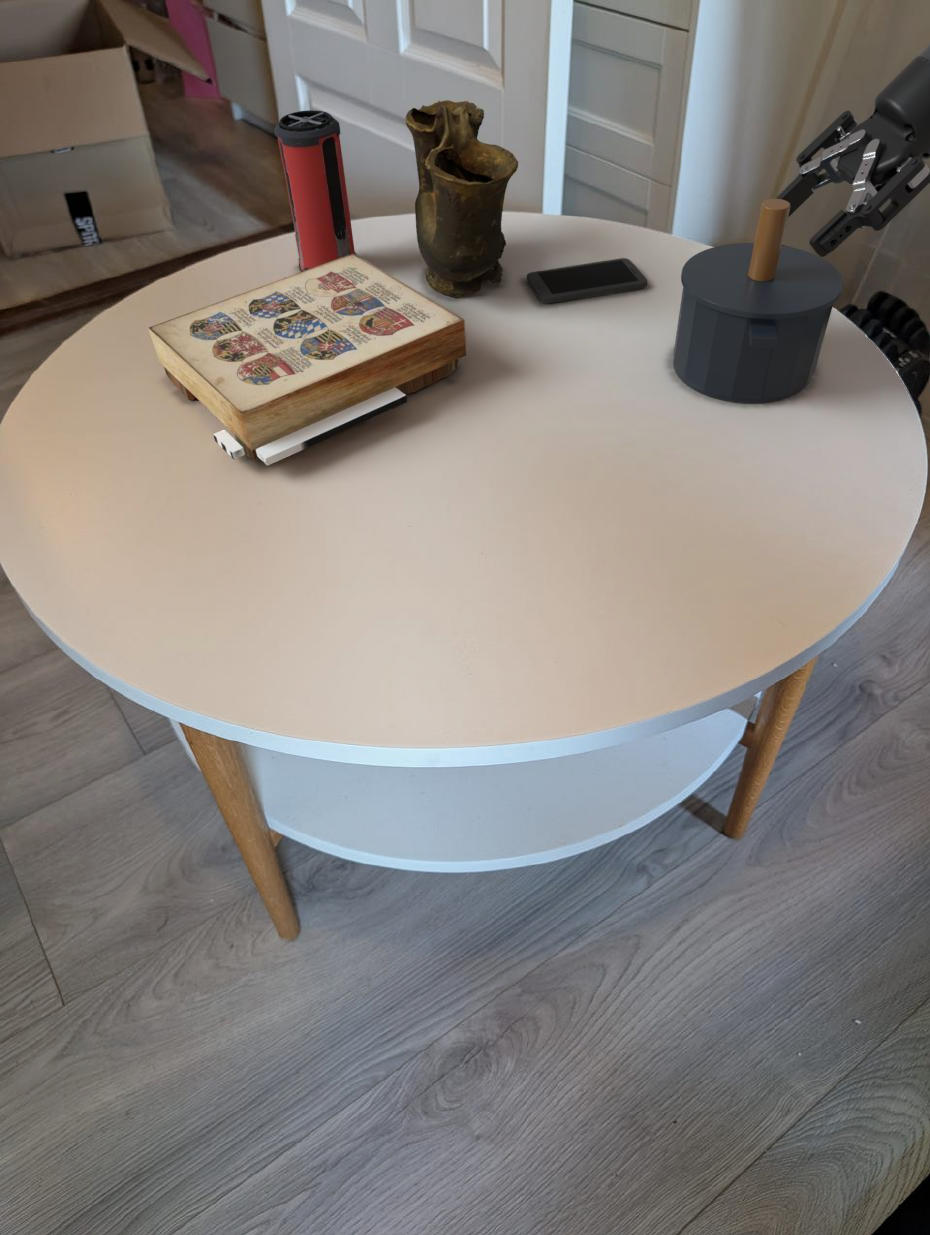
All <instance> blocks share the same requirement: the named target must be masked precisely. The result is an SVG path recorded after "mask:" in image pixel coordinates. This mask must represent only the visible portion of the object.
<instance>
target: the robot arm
mask: <svg viewBox="0 0 930 1235" xmlns="http://www.w3.org/2000/svg"><path fill="white" fill-rule="evenodd" d="M821 149H823V151H822V152H821V155H820V156H819V157H817V158H814V159H813V157H814V156H815V155H816V154H817V153H818V152H820V150H821ZM837 158H838V160H837ZM925 160H930V43H928V44H927V45H926V46H925V47H924V48H923V49H922V50H921V51H920V52H919V53H918V54H917V55H916V56H915V57H914V58H913V59H912V60H911V61H910V62H909V63H908V64H907V65H906V66H905V67H904V68H903V69H902V70H901V71H900V72H899V73H898V74H897V75H896V76H895V77H894V78H893V79H891V81H890V82H889V83H888V84H887V85H886V86H885V87H884V88H883V89H882V90H881V91H880V92H878V94H877V95H876V97H875V99H874V111H873V113H872V114H871V115H870V116H869V117H868V118H867V119H865V120H864V121H862V122H860V123H859V122H858V121H857V119H856V118H855V117H854V115H853V113H852V112H851V111H850V110H845V111H844V112H842V113H841V114H840V115H838V117H837V118H836V119H835V120H834V121H833V122H832V123H831V124H829V126H828V127H826V128H825V129H824V130H823V131H822V132H821V133H820V134H819V135H818V136H817V137H816V138H815V139H813V141H811V142H810V143H809V144H808V145H807V146H806V147H805V148H804V149H803V150H802V151H801V152H800V153H799V154H798V155H797V157H796V159H795V161H796V162H797V164H798V166H799V169H798V175H797V176H796V177H795V179H793V180H792V181H791V182H790V183H789V184H788V185H787V186H786V187H785V188H784V190H782V191H781V192H780V193H779V194H778V195H777V196H776V198H775V199H782V200H785V201H787V202H789V203H790V210H789V215H788V218H790V217H791V216H792V215H793V214H794V213H795V212H796V211H797V210H798V209H799V208H800V207H801V206H802V205H804V203H805V202H806V201H807V200H808V199H809V198H810V197H811V196H813V194H814V191H815V190H818V189H820V188H822V187H825V186H827V185H829V184H832V183H833V184H835V185H836V184H837V185H838V184H841V183H843V182H847V183H848V184H850V185H852V193H851V195H850V197H849V200H848V202H847V204H846V206H845V211H844V210H843V209H840V210H839V211H838V212H837V213H836V214H835V215H833V216H832V217H831V218H830V219H829V221H828V222H827V223H825V224H824V225H823V226H822V227H821V228H820V229H819V230H818V231H817V232H816V233H815V234H814V235H813V236H812V237H811V238H810V239H809V246H810V247H811V248H812V249H813V250H814V252H815V253H816V254H817V256H818V257H821V258H825V257H827V255H829V254H831V253H832V252H834V251H835V250H837V248H838V247H839V246H840V245H841V244H842V243H844V242H845V241H846V240H847V239H848V238H849V237H850V236H851V235H852V234H853V233H854V232H855V231H856V230H858V229H865V228H866V227H868V228H872V229H873V231H875V232H879V231H881V230H883V229H884V228H885V227H886V226H888V224H889V223H891V221H892V220H893V219H894V218H895V217H896V216H898V215H899V213H900V212H902V211H903V209H905V208H906V207H907V205H908V204H910V203H911V202H912V201H913V200H914V199H915V198H916V197H917V196H918V195H919V194H920V193H921V192H922V191H923V190H924V188H926V187H927V186H928V185H929V184H930V168H929V166H928V165H927V163H926V162H925ZM823 170H824V171H825V172H822V173H821V171H823ZM820 173H821V174H820ZM889 200H890V203H889V204H888V205H887V206H886V207H884V209H883V210H882V211H881V208H882V207H883V205H884V204H886V202H888V201H889Z"/></svg>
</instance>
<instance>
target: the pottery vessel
mask: <svg viewBox="0 0 930 1235" xmlns="http://www.w3.org/2000/svg"><path fill="white" fill-rule="evenodd" d="M484 118H485V110H484V109H483V108H480V107H478V106H477V105H476V104H475V103H474V102H470V101H468V100H464V101H452V100H438V101H437V102H434V103H433V104H429V105H424V104H423V105H422V106H420V108H418V109H417V108H416V107H413V108H411V109H410V110H408V111H407V113H406V115H405V117H404V120H405V125H406V127H407V129H408V130H409V132H410V134H411V137H412V141H413V145H414V153H415V154H414V155H415V162H416V170H417V178H418V193H417V196H416V199H415V202H414V212H415V230H416V231H415V232H416V241H417V246H418V249H419V252H420V255H421V257H422V259H423V261H424V263H425V264H426V265H427V268H426V269H425V280H426V282H427V284H428V286H429V287H430V288H431V289H432V290H434V291H435V292H439V293H440V294H441V295H446V296H449V297H453V298H456V297H458V298H461V296H462V295H463V294H465V293H479V292H480V291H481V290H482V286H483V284H484V283H485V282H487V281H489V282H490V283H491V285H493V284H495V283H496V284H501V282H502V277H503V266H502V264H501V262H500V261H499V260H500V259H502V258H503V254H504V252H505V251H504V250H505V247H506V246H507V240H506V238H505V234H504V232H503V231H502V220H503V218H502V217H503V211H504V209H503V208H504V203H505V195H506V191H507V187H508V184H509V181H510V180H511V178H512V177H513V175H514V174H515V173H516V172H517V170H518V168H519V160H518V159H517V157H516V156H515V155H514V153H513V152H512V151H510V150H508V149H506V148H504V147H502V146H500V145H497V144H490V143H485V142H482V141H480V140H478V136H479V130H480V128H481V126H482V124H483V120H484Z"/></svg>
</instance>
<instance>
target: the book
mask: <svg viewBox="0 0 930 1235" xmlns="http://www.w3.org/2000/svg"><path fill="white" fill-rule="evenodd" d="M147 330H148V332H149V334H150V338H151V341H152V343H153V346H154V349H155V352H156V355H157V357H158V361H159V364H160V365H162V366H163V369H164V372H165V375H166V376H167V377H168V379H169V380H170V381H171V383H172V384H173V385H174V386H175V387H176V388H177V389H178V390H179V391H180V392H181V393H182V394H183V396H184V397H185V398H186V399H187V400H189V401H195V399H197V400H198V401H199V402H200V403H201V404H202V405H203V406H204V407H205V408H206V409H207V410H209V411H210V412H211V413H212V414H213V415H214V416H215V418H217V419H218V421H220V422H221V423H222V424H223V425H224V426H225V427H227V429H228V430H229V431H231V432H232V433H233V435H234V437H233V436H232V435H231V434H229V432H228V431H227V430H225V429H222V430H220V431H217V432H214V433H213V434H212V436H213V439H214V442H215V443H216V444H217V445H218V446H220V447H221V449H223V450H224V452H225V453H226V454H228V455H229V456H230V457H231V459H233V460H237V459H239V458H241V457H244V456H245V455H246V456H247V457H249V459H251V460H252V461H258V460H261V462H263V463H264V464H265V465H266V466H270V465H272V464H274V463H277V462H279V461H282V460H284V459H285V458H287V457H290V456H292V455H295V454H297V453H299V452H301V451H303V450H305V449H308V448H310V447H311V446H315V445H316V444H319V443H321V442H323V441H326V440H327V439H330V438H332V437H334V436H336V435H338V434H341V433H342V432H345V431H347V430H349V429H351V428H354V427H356V426H358V425H361V424H362V423H365V422H367V421H370V420H371V419H373V418H375V417H378V416H380V415H382V414H384V413H386V412H389V411H391V410H393V409H396V408H397V407H400V406H402V405H404V404H407V403H408V399H407V398H408V397H407V394H412V393H415V392H418V391H420V390H421V389H423V388H425V387H428V386H430V385H432V384H434V383H437V382H438V380H441V379H442V378H445V377H450V376H451V375H452V374H453V373H454V371H455V370H456V369H458V368H459V360H460V359H461V358H464V357H466V356H467V347H466V346H467V344H466V325H465V319H464V318H463V317H462V316H460V315H458V314H456V313H454V311H452V310H450V309H448V308H446V307H444V306H443V305H441V303H438V302H436V301H435V300H433V299H431V298H429V297H427V296H426V295H425V294H423V293H421V292H420V291H418V290H416V289H414V288H413V287H411V286H410V285H408V284H406V283H404V282H403V281H401V280H399V279H397V278H396V277H394V276H393V275H391V274H389V273H387V272H386V271H384V270H383V269H381V268H379V267H378V266H376V265H374V264H372V263H371V262H369V261H368V260H366V259H364V258H362V257H361V256H359V255H358V254H357V253H356V254H354V253H352V254H350V255H347V256H344V257H341V258H339V259H336V260H333V261H330V262H328V263H325V264H322V265H319V266H317V267H314V268H311V269H308V270H306V271H303V272H301V271H300V272H298V273H295V274H293V275H289V276H287V277H284V278H281V279H278V280H275V281H273V282H270V283H268V284H265V285H261V286H259V287H256V288H254V289H251V290H248V291H246V292H242V293H240V294H237V295H235V296H231V297H229V298H226V299H224V300H221V301H218V302H215V303H213V304H210V305H206V306H204V307H201V308H199V309H196V310H193V311H191V312H188V313H186V314H182V315H179V316H176V317H174V318H171V319H167V320H166V321H163V322H161V323H157V324H154V325H152V326H149V327H148V328H147Z"/></svg>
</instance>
